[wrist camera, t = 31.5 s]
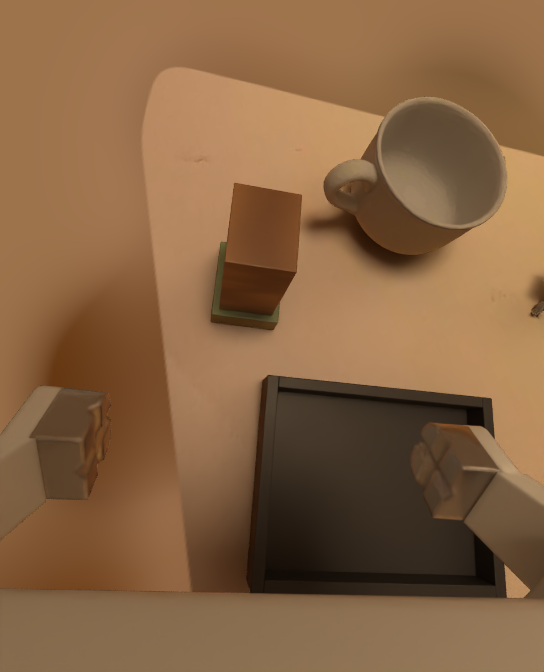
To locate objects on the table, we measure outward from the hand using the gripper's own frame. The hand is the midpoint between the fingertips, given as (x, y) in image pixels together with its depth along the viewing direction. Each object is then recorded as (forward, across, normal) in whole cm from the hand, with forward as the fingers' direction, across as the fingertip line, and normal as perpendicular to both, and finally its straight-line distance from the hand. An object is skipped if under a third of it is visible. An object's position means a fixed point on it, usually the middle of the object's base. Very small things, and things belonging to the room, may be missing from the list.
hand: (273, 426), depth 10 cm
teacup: (+28, -12, -1) cm, 30 cm away
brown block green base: (+21, 0, +6) cm, 22 cm away
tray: (+12, -11, +15) cm, 22 cm away
